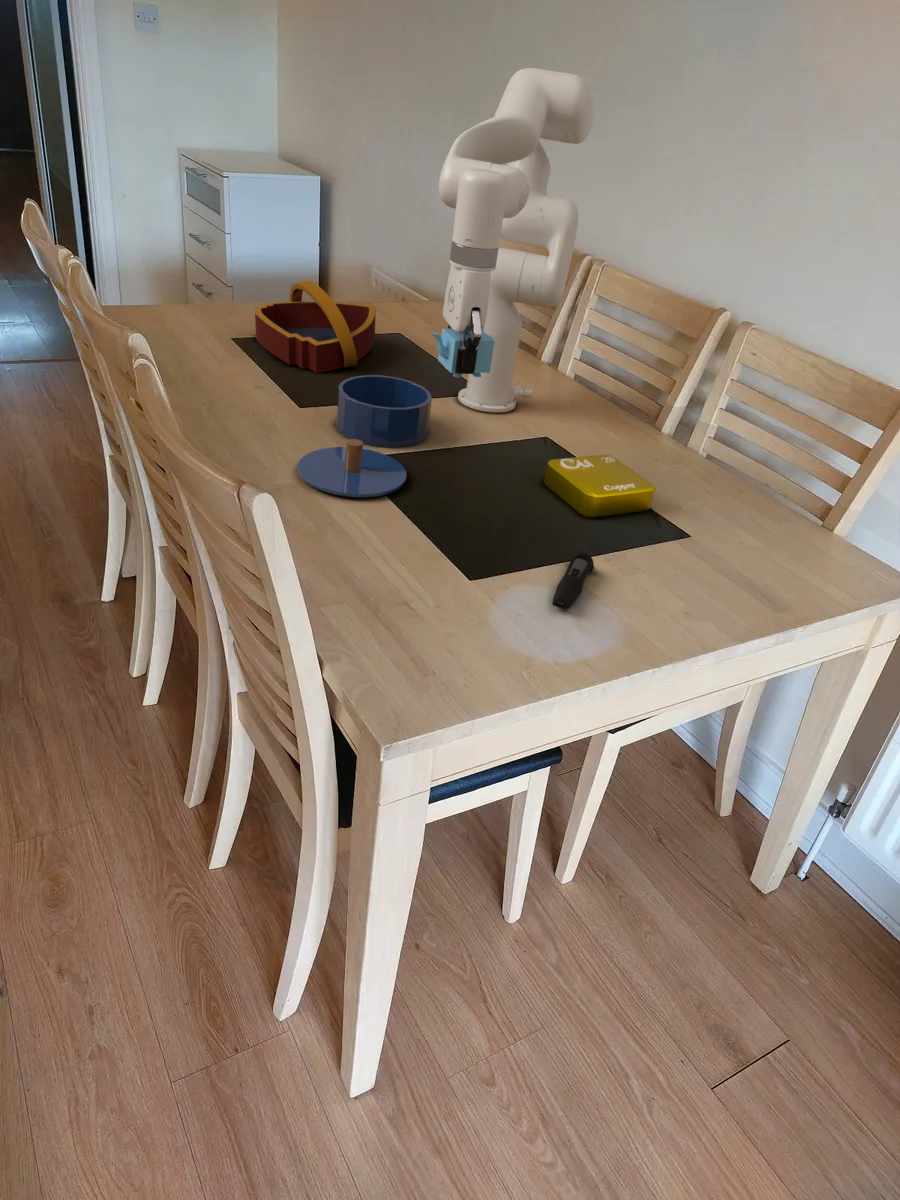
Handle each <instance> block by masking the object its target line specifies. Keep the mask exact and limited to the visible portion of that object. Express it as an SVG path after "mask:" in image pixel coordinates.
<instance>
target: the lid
mask: <svg viewBox="0 0 900 1200" xmlns="http://www.w3.org/2000/svg"><path fill="white" fill-rule="evenodd" d="M297 473H298V475H299V477H300V478H301V479H302V480H303V481H304V482H305V483H307V485H310V486H311V487H313V488H315V489H317V490H320V491H322V492H326V493H328V494H333V495H336V496H342V497H351V498H372V497H374V498H375V497H380V496H385V495H390V494H391V493H394V492H396V491H398V490H400V489H401V488H402V487H403V486H404V485H405V483H406V481H407V471H406V468H405V467H404V466H403V464H402V463H401V462H399V461H397V460H396V459H395V458H392V457H391V456H389V455H387V454H384V453H381V452H379V451H375V450H372V449H368V448H367V449H366V448H364V443H363V442H362V441H361V440H358V439H350V438H348V439H347V440H346V444H345V446H334V447H333V446H332V447H325V448H320V449H317V450H313V451H311V452H308V453H306V454H305V455H303V456H302V457H301V458H300V459H299V461H298V463H297Z"/></svg>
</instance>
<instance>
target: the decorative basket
mask: <svg viewBox="0 0 900 1200" xmlns="http://www.w3.org/2000/svg"><path fill="white" fill-rule="evenodd" d="M303 293H305V294H307V295H308V296H309V297H310V298H311V299H312V300H313V301H303ZM376 312H377V311H376V306H375V305H369V304H362V303H351V302H336V301H334V300H333V299H332V298H331V296H330V295H329V294H328V293H327V292H326V291H325V290H324V289H323V288H322V287H320V286H319V285H318V284H317V283H316V282H314V281H312V280H309V279H306V280H302V281H300V282H297V283H293V285H291V287H290V291H289V301H278V302H266V304H261V306H255V307H254V320H255V321H254V322H255V339H256V341H257V342H258V343H259V344H260V345H261V346H262V347H263V348H264V349H265V350H266V351H268V352H269V353H271V354H272V355H273V356H275V357H276V358H278V359H279V360H281V361H283V362H284V363H286V364H287V365H289V366H291V365H297V366H298V367H300V368H301V369H309V370H311V371H313V372H314V373H316V374H318V373H323V372H329V371H333V370H338V369H341V368H352V367H357V364H358V360H360V359H361V358H363V357H364V356H365V355H367V354H368V353H369V352H370V350H371V348H373V346H374V343H375V340H376V339H375V338H376Z"/></svg>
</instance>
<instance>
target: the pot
mask: <svg viewBox="0 0 900 1200" xmlns="http://www.w3.org/2000/svg"><path fill="white" fill-rule="evenodd" d="M432 401H433V397H432V394H431V392H430V391H429V390H428V389H427V388H425V387H424V386H423V385H421V384H419V383H417V382H413V381H412V380H408V379H404V378H401V377H396V376H387V375H382V374H381V375H380V374H378V375H376V374H373V375H372V374H367V375H358V376H352V377H349V378H346V379H344V380H342V381H341V382H340V383H339V384H338V387H337V403H336V416H335V417H336V418H335V420H336V421H335V422H336V423H335V425H336V429H337V430H338V432H340V433H341V434H342V435H343V436H345V438H348V439H358V440H361V441H362V442H363V445H369V446H373V447H379V448H380V447H381V448H402V447H410V446H413V445H417V444H420V443H421V442H423V441H425V439H426V437H427V435H428V433H429V427H430V418H431V417H430V416H431V410H432V403H433V402H432Z"/></svg>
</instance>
